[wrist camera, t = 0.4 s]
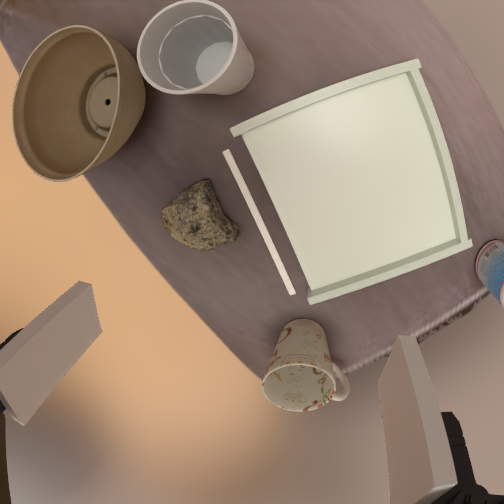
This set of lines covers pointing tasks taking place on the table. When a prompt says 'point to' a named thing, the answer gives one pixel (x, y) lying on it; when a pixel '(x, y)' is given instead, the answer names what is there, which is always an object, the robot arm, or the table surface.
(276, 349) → the mug
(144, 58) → the cup
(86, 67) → the planter bowl
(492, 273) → the pill bottle
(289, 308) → the table surface
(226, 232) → the rock
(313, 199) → the white square tray
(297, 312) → the table surface
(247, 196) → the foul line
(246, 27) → the table surface
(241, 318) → the table surface
